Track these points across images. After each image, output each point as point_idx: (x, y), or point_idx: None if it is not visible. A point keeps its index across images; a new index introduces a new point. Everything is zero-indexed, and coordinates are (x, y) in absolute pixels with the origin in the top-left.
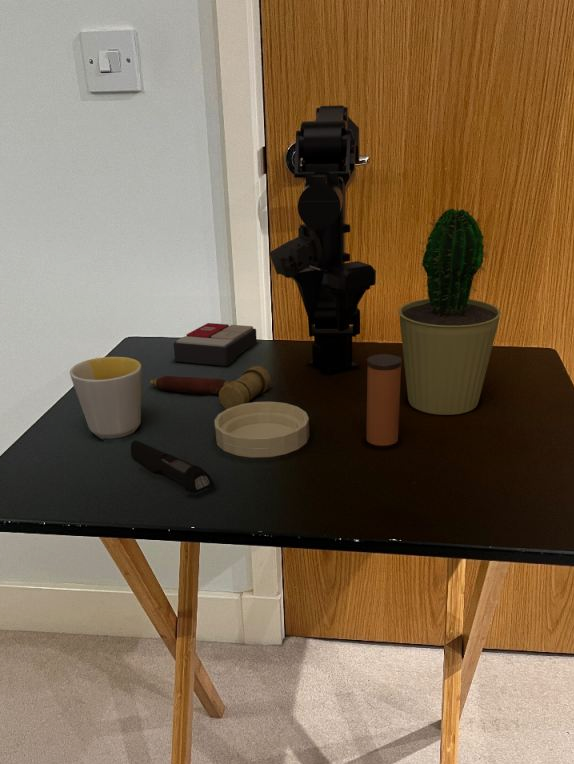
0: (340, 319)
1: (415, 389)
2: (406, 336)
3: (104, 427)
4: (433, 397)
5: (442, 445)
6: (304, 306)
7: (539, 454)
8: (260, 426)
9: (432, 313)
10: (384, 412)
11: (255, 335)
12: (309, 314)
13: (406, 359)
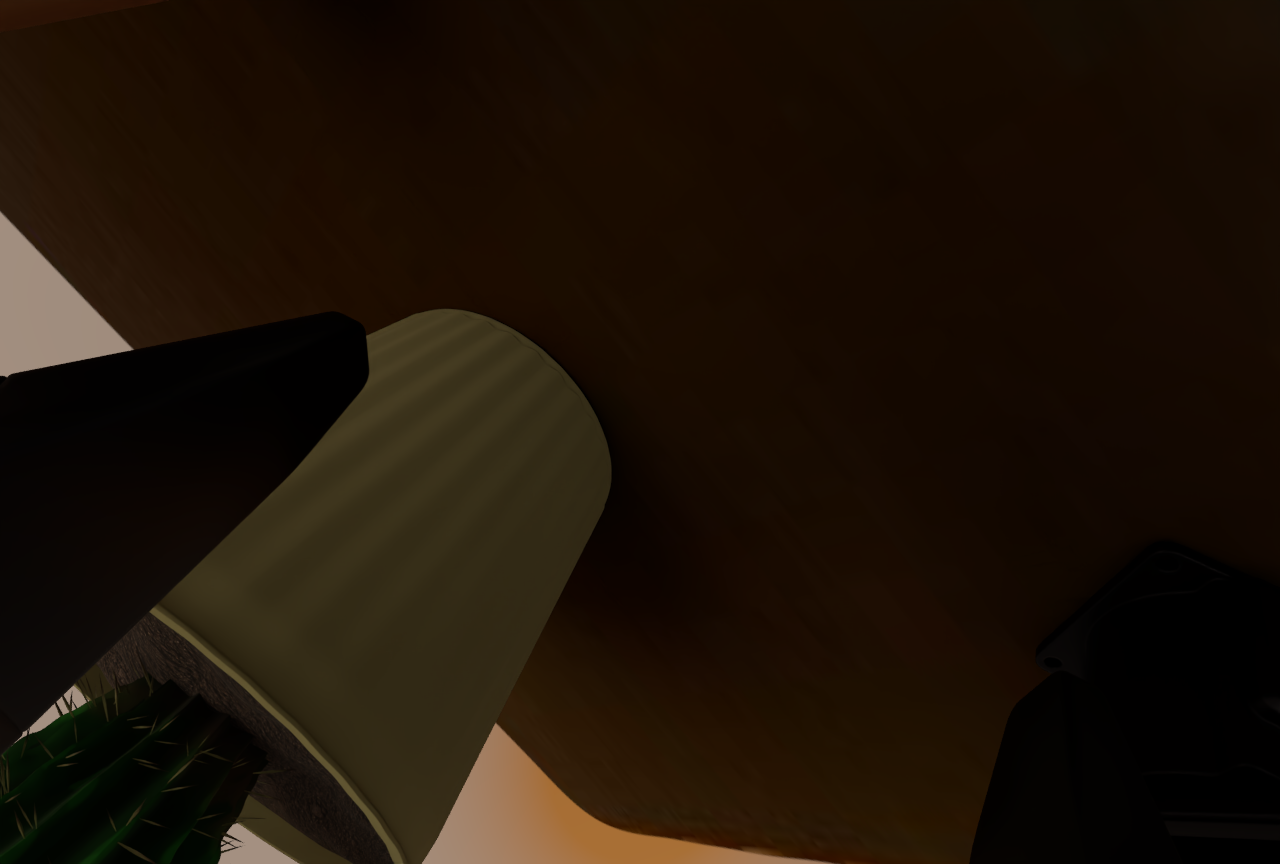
0: (163, 352)
1: (428, 352)
2: (251, 516)
3: None
4: (371, 336)
5: (200, 59)
6: (1171, 850)
7: (88, 201)
8: None
9: (246, 724)
10: None
11: None
12: (1053, 706)
13: (393, 452)
